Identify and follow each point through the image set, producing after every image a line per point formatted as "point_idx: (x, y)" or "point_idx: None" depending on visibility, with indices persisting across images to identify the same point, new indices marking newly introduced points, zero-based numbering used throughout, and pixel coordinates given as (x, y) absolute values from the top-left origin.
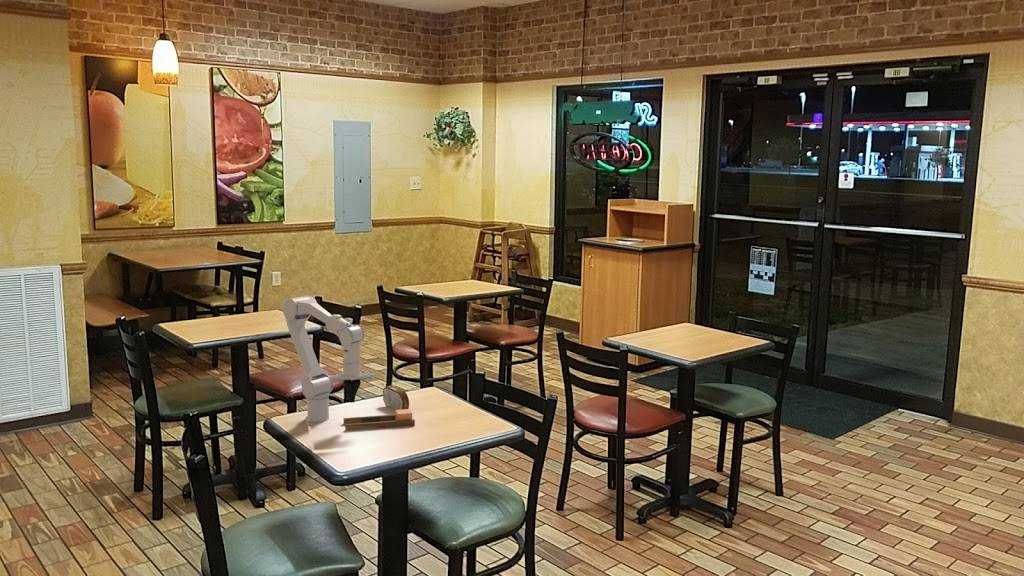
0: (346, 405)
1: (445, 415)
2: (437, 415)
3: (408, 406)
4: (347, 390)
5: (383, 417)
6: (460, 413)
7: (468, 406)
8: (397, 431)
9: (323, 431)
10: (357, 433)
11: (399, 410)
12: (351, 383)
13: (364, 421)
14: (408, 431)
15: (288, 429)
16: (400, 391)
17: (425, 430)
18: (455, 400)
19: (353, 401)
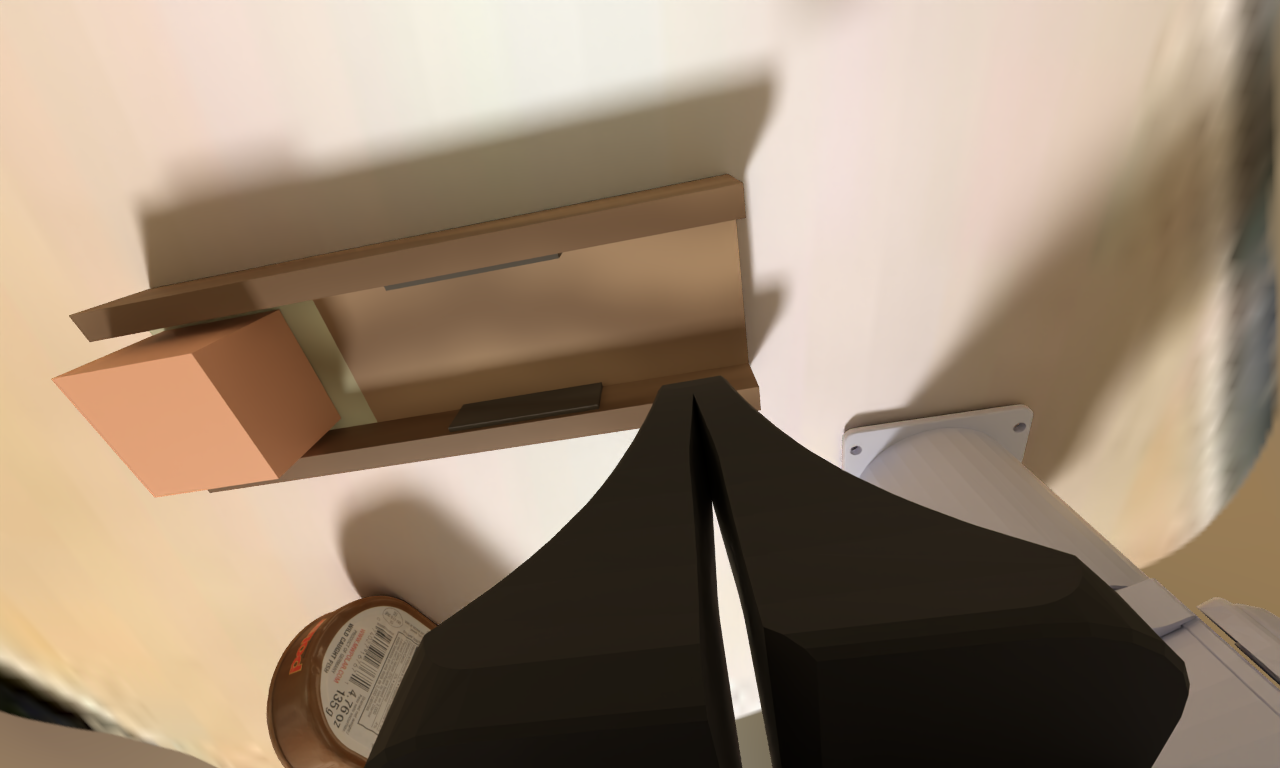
0: None
1: (86, 550)
2: (139, 552)
3: (307, 627)
4: (865, 481)
5: (419, 433)
6: (12, 576)
7: (45, 667)
8: (268, 220)
9: (921, 260)
10: (620, 181)
11: (230, 462)
12: (802, 727)
13: (578, 393)
14: (168, 214)
15: (1195, 330)
16: (312, 760)
17: (28, 235)
18: (172, 735)
19: (673, 388)
